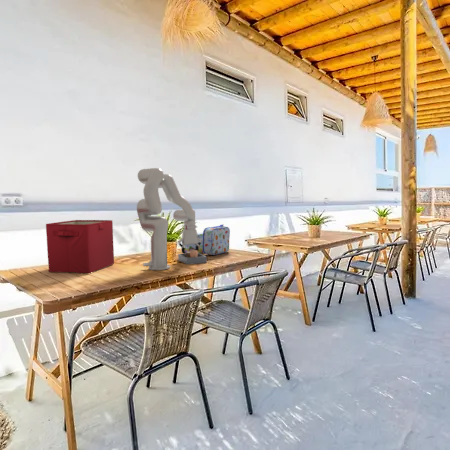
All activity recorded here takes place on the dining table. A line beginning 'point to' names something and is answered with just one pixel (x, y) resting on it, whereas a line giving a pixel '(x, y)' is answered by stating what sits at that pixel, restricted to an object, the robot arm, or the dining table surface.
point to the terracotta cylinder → (193, 253)
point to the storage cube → (80, 245)
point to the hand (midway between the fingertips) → (190, 252)
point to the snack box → (193, 246)
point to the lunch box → (216, 240)
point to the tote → (192, 259)
